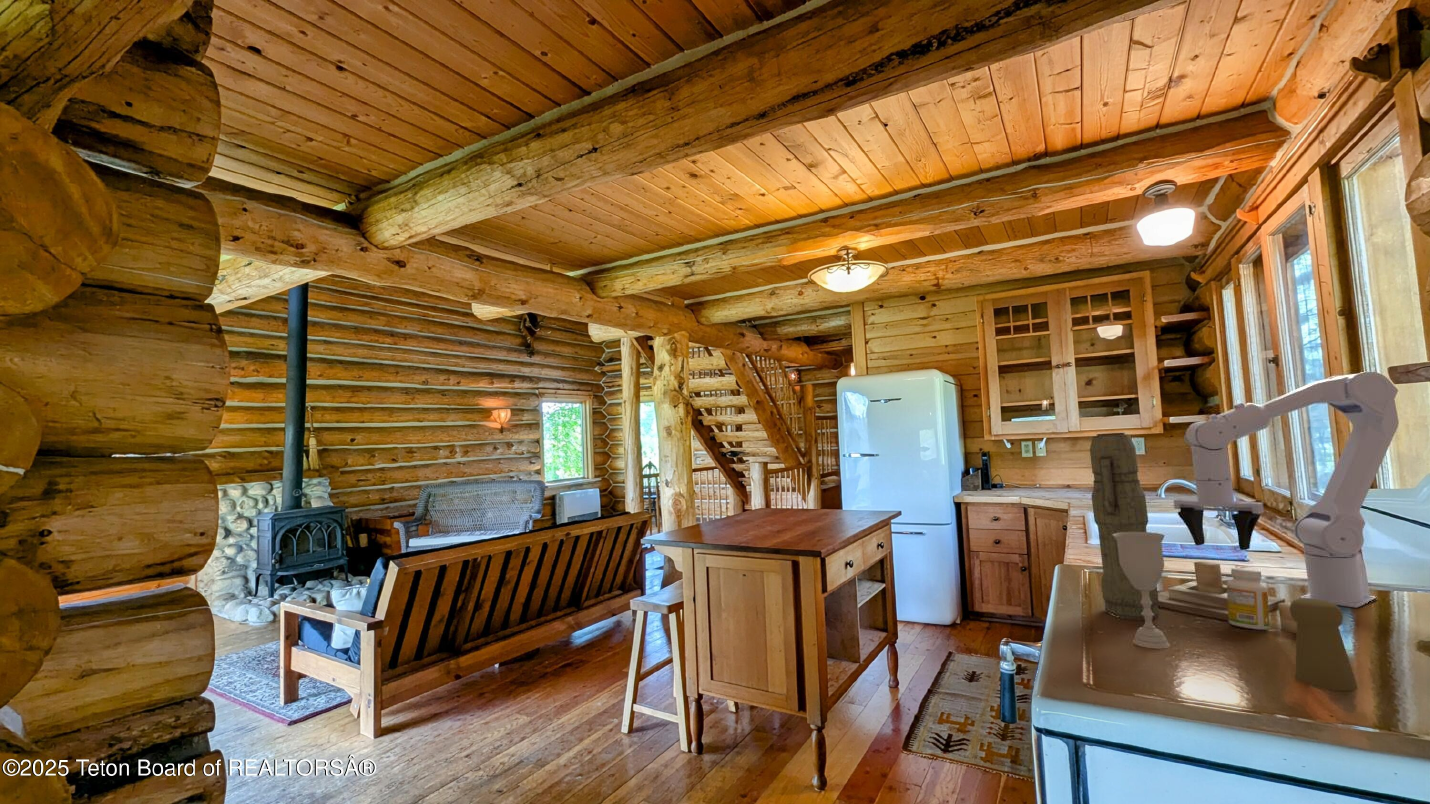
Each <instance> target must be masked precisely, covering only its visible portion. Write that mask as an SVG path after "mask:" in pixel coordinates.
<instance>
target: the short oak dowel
mask: <svg viewBox="0 0 1430 804" xmlns="http://www.w3.org/2000/svg"><path fill="white" fill-rule="evenodd" d="M1291 603H1292V602H1285V603H1279V604H1278V607H1279V608H1278V613H1279V621H1280V629H1282V630H1283V631H1286V632H1288V633H1289V632H1290V633H1295V634H1297V622H1296V621H1295V620H1294V619H1293V618H1292V616H1291V614H1290V605H1291Z"/></svg>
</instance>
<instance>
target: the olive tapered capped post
mask: <svg viewBox="0 0 1430 804" xmlns="http://www.w3.org/2000/svg"><path fill="white" fill-rule="evenodd" d="M1290 603H1291V605H1290V614H1291V616H1292V618H1293V619H1294V620H1295V621H1296V622H1297V633H1296V646H1295V647H1296V649H1295V671H1294V672H1295V673H1294V674H1295V675H1294V676H1295V677H1294V678H1295V680H1297V681H1299V682H1300V683H1302V684H1305V685H1308V686H1310V685H1311V687H1314V688H1318V689H1324V690H1328V691H1329V690H1330V691H1337V692H1338V691H1340V692H1342V691H1344V692H1345V691H1346V692H1348V691H1354V690H1356V689H1357V688H1358V684H1357V681H1356V678H1355V675H1354V673H1353V669H1352V667H1351V662H1350V660H1349V656H1348V653H1347V649H1346V647H1345V644H1344V641H1343V636H1342V634H1341V631H1340V630H1341V629H1340V626H1342V624H1343V619H1344V618H1343V617H1344V616H1343V612H1342V610H1341V608H1340V607H1339V605H1335V604H1334V603H1332V602H1329V601H1325V600H1320V599H1310V598H1306V599H1300V598H1296V599H1294V600H1293V601H1291V602H1290Z"/></svg>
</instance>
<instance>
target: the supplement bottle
mask: <svg viewBox="0 0 1430 804" xmlns="http://www.w3.org/2000/svg"><path fill="white" fill-rule="evenodd" d="M1230 571H1231V572H1230V573H1231V574H1230V575H1231V577H1232V579H1231V580H1229V581H1227V582H1226V585H1227V599H1228V619H1229V620H1228V623H1229V624H1230V625H1232V626H1236V627H1240V628H1245V629H1250V630H1259V631H1260V630H1262V631H1264V630H1265V631H1267V630H1269V629H1270V611H1269V609H1268V596H1269V593H1268V587H1267V586H1266V585H1265V584H1263V583H1261V580H1262V571H1260V570H1254V569H1247V568H1235V567H1234V568H1233V567H1232V568H1231V569H1230Z"/></svg>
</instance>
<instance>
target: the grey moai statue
mask: <svg viewBox="0 0 1430 804" xmlns="http://www.w3.org/2000/svg"><path fill="white" fill-rule="evenodd" d="M1090 443H1091V444H1090V447H1089V455H1090V456H1089V457H1090V465H1091V471H1092V472H1091V473H1092V474H1093V481H1092V482H1093V489H1092V492H1091V504H1092V511H1093V520H1094V523H1095V524H1096V526H1097V530H1098V539H1099V547H1100V557H1101V564H1102V565H1101V567H1102V573H1103V574H1102V576H1101V581H1100V583H1101V592H1102V594H1101V595H1102V599H1103V600H1104V607H1105V608H1104V611H1105V610H1106V611H1105V613H1106V612H1107V613H1110V614H1113V615H1115V616H1119V617H1124V618H1129V619H1128V620H1132V619H1138V620H1137V621H1145V620H1144V619H1145V618H1144V616H1143V615H1142V614H1141V613H1142V612H1143V609H1144V607H1143V605H1142V604H1141V603H1140V602H1141V600H1142V593H1141V590H1138V589H1136V588H1134V587H1133V585H1132V584H1131V582H1130V581H1129V579H1128V578H1127V576H1126V575H1125V573H1124V571H1123V569H1122V567H1121V565H1120V562H1119V553H1118V545H1117V541H1116V539H1115V538H1114V536H1113V534H1115V533H1120V532H1147V531H1148V530H1147V525H1148V524H1149V516H1148V509H1147V507H1148V506H1147V500H1146V494H1145V492H1144V490H1143V488H1142V486H1141V482H1140V481H1141V480H1140V479H1139V477H1138V474H1139V465H1138V459H1137V458H1138V457H1137V449H1136V446H1135V443H1134V441H1133V440H1132V437H1131V435H1130V434H1125V432H1109V433H1097V434H1096V436H1092V439H1091V442H1090ZM1158 593H1159V592H1158V585H1157V586H1156V588H1155V589H1154V590H1151V591H1149V598H1150V601H1151V602H1152V604H1151V607H1150V609H1151V611H1152V613H1153V614H1154V615H1153V616H1152V618H1155V619H1157V618H1156V617H1158V616H1159V617H1160V611H1159V607H1158V602H1159V600H1158ZM1107 613H1106V614H1107ZM1115 616H1114V617H1115ZM1119 617H1118V618H1119ZM1159 617H1158V618H1159ZM1124 618H1123V619H1124Z"/></svg>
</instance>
